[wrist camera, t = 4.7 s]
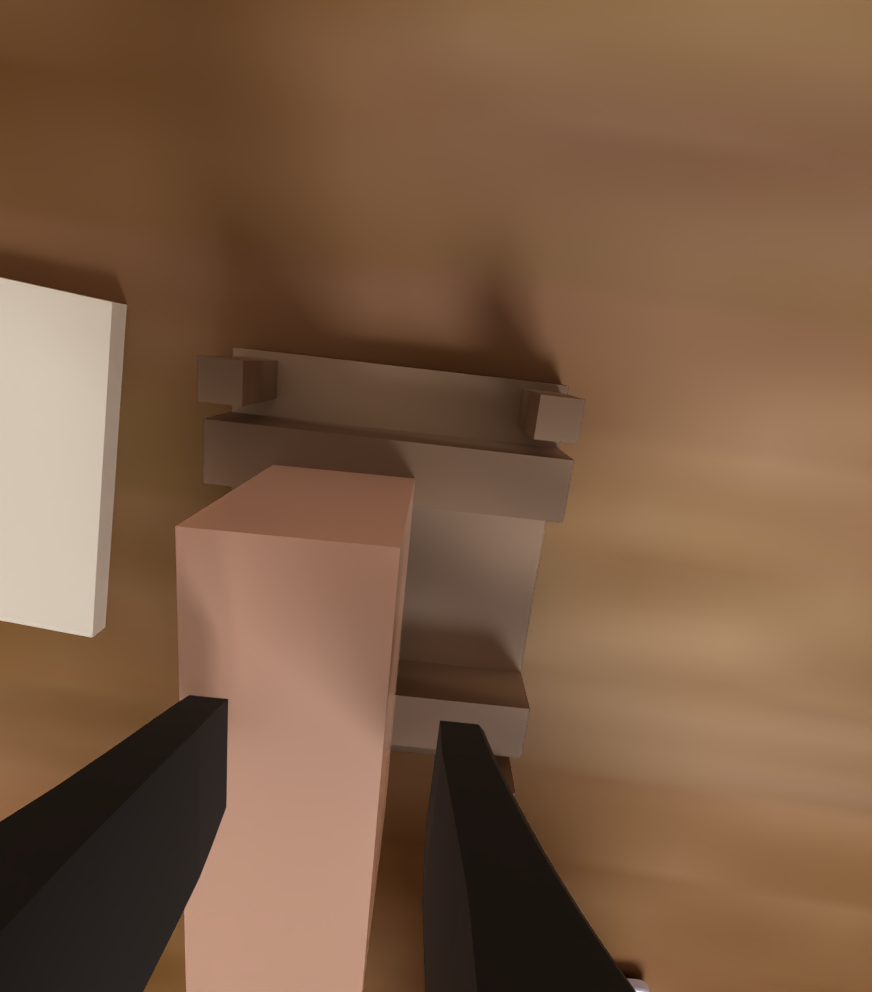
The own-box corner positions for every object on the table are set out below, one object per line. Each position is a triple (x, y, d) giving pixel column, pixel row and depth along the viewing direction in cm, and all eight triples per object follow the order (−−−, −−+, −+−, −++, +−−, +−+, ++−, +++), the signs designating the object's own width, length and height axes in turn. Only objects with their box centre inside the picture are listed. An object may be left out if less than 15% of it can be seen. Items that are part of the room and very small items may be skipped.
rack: (502, 744, 18) (516, 830, 15) (235, 717, 18) (189, 798, 15) (562, 384, 15) (596, 391, 12) (243, 348, 15) (188, 345, 12)
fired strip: (114, 619, 18) (91, 637, 17) (6, 598, 18) (-24, 615, 16) (136, 306, 15) (112, 302, 14) (12, 279, 15) (-24, 272, 14)
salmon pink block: (385, 811, 16) (359, 1013, 11) (265, 801, 16) (186, 999, 11) (415, 478, 13) (400, 547, 8) (273, 464, 13) (175, 526, 8)
